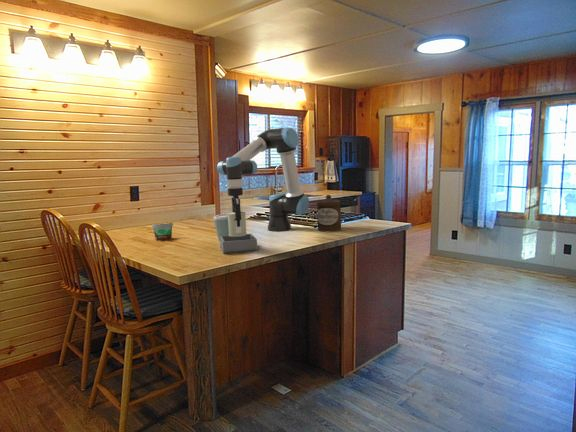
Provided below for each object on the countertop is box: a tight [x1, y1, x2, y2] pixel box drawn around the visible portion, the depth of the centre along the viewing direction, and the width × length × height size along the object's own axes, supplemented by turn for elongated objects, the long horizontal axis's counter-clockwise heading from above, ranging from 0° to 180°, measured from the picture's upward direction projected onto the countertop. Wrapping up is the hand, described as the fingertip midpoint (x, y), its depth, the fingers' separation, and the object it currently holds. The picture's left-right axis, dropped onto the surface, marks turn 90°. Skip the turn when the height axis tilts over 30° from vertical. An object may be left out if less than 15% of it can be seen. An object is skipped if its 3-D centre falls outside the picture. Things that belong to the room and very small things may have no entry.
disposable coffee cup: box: [212, 213, 229, 242], centre depth 236 cm, size 11×11×15 cm
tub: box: [219, 233, 258, 255], centre depth 213 cm, size 17×17×6 cm
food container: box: [151, 221, 174, 241], centre depth 246 cm, size 12×6×10 cm, turn 112°
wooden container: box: [316, 194, 342, 232], centre depth 259 cm, size 15×15×22 cm
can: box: [227, 211, 248, 237], centre depth 212 cm, size 9×9×12 cm
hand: (237, 231), depth 212 cm, fingers closed on can, 9 cm apart
